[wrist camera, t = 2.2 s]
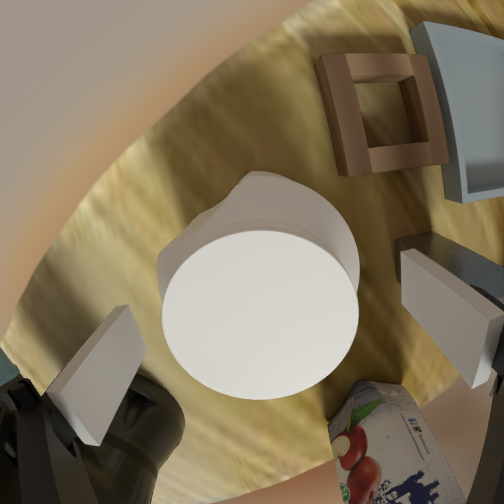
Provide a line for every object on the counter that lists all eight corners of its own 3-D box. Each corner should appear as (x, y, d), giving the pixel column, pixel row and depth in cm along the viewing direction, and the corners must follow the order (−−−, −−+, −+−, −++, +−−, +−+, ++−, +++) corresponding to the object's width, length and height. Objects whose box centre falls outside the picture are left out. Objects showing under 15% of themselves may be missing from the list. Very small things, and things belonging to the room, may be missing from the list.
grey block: (397, 281, 27) (477, 361, 14) (395, 239, 26) (489, 302, 13) (432, 271, 27) (518, 339, 14) (431, 231, 26) (530, 283, 12)
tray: (445, 198, 25) (462, 203, 22) (409, 31, 20) (422, 20, 17) (535, 183, 23) (550, 186, 21) (510, 51, 18) (525, 47, 16)
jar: (242, 312, 28) (232, 438, 14) (173, 237, 26) (92, 320, 12) (340, 238, 26) (424, 321, 12) (274, 152, 24) (303, 136, 10)
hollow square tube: (338, 175, 24) (349, 177, 21) (313, 66, 22) (321, 55, 19) (432, 162, 24) (449, 163, 21) (410, 63, 21) (425, 55, 18)
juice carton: (411, 378, 31) (501, 549, 5) (371, 431, 34) (421, 589, 8) (355, 370, 30) (435, 589, 5) (317, 427, 33) (349, 612, 7)
